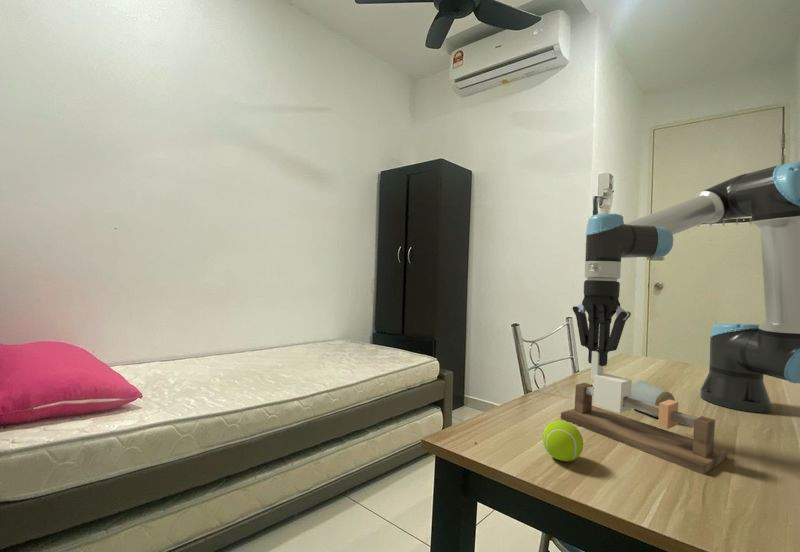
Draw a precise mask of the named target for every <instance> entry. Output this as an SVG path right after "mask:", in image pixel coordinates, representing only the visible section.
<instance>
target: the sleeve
mask: <svg viewBox="0 0 800 552" xmlns="http://www.w3.org/2000/svg"><path fill="white" fill-rule="evenodd" d="M593 380H594V382H593V387H594V396H593V397H592V406H595V407H598V408H601V409H604V410H607V411H610V412H614V413H617V414H622V413H624V412H628V411H631V408H630V407H627V406H624V405H623V397H629V398H631V385H632V384H633V383H632V382H633V381H632V379H630V378H626V377H622V376H617V375H613V374H609V373H605V372H603V374H600V375H595V379H593Z"/></svg>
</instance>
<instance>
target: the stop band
mask: <svg viewBox="0 0 800 552" xmlns="http://www.w3.org/2000/svg"><path fill="white" fill-rule="evenodd" d="M673 411H677V412H679V401H676V400H675V401H674V400H667V401H664V402H661V403H659V418H658V422H657V423H658V424H657V427H658V428H661V429H664V430H669V429H671V428H674V427H675V426H678V422H676V421H672V420H671V412H673Z"/></svg>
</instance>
